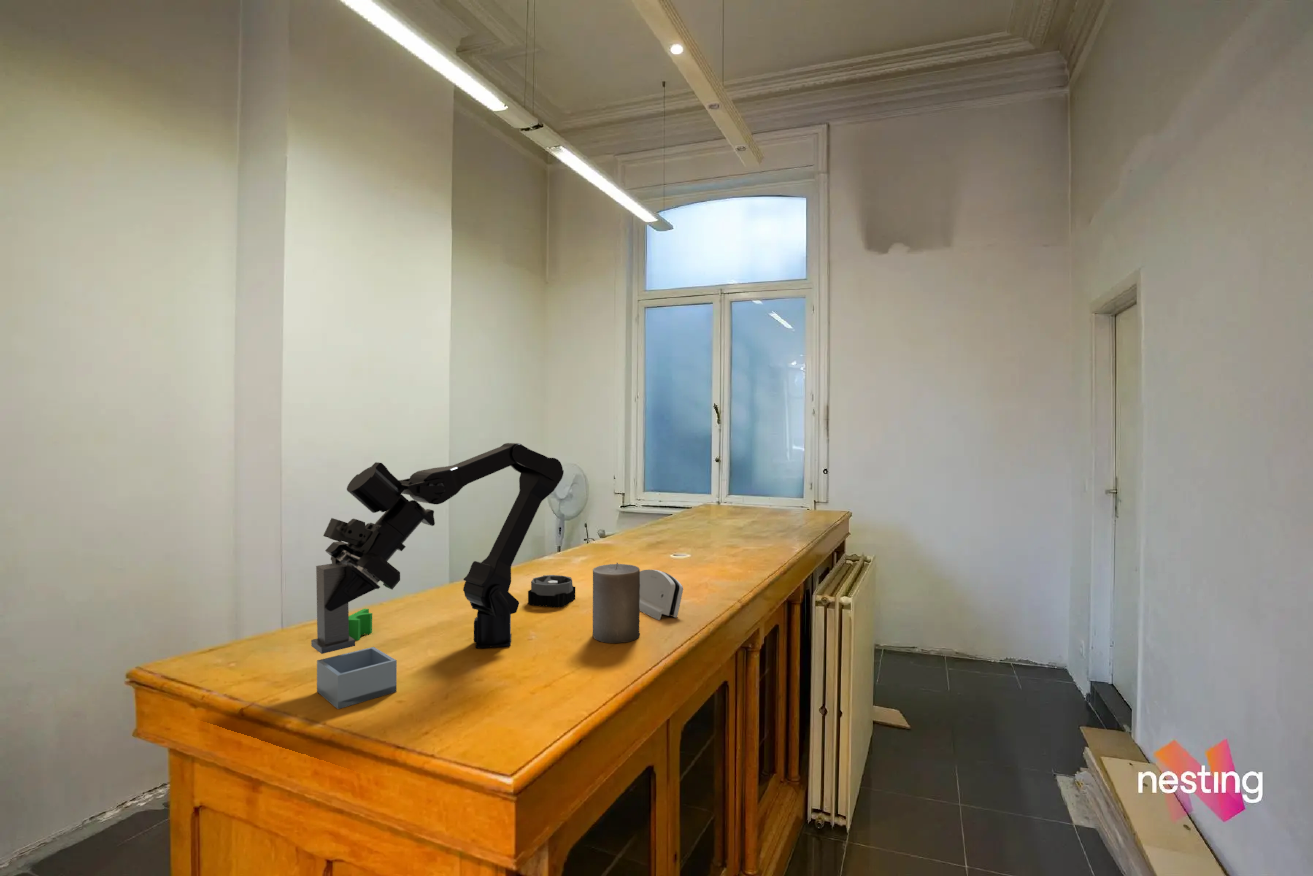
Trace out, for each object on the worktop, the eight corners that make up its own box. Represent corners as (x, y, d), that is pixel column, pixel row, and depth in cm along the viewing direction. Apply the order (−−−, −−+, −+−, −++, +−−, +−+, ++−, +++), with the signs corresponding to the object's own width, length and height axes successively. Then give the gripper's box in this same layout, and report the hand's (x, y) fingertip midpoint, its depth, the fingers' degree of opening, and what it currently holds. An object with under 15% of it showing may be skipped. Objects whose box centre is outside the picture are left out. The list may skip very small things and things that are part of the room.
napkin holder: (623, 602, 153) (635, 562, 154) (639, 606, 155) (651, 567, 157) (658, 620, 138) (672, 576, 140) (675, 624, 141) (688, 581, 142)
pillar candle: (649, 634, 129) (649, 561, 129) (618, 647, 121) (619, 569, 121) (612, 625, 135) (613, 555, 134) (581, 637, 127) (582, 563, 127)
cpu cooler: (562, 585, 147) (523, 582, 149) (562, 610, 147) (522, 606, 149) (579, 575, 157) (542, 572, 159) (579, 598, 157) (542, 595, 159)
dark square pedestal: (344, 638, 105) (343, 561, 105) (355, 645, 102) (354, 565, 101) (311, 646, 102) (310, 565, 101) (321, 654, 98) (320, 571, 98)
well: (373, 676, 106) (373, 646, 106) (396, 691, 100) (396, 660, 100) (316, 691, 99) (317, 660, 99) (337, 709, 93) (337, 675, 93)
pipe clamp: (349, 646, 121) (349, 624, 121) (332, 645, 121) (332, 623, 121) (379, 629, 131) (379, 608, 131) (364, 628, 132) (364, 608, 132)
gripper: (337, 495, 110) (266, 568, 103) (379, 504, 97) (301, 589, 90) (383, 534, 116) (319, 606, 109) (428, 548, 103) (359, 631, 95)
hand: (323, 607), depth 100 cm, fingers closed on dark square pedestal, 4 cm apart
